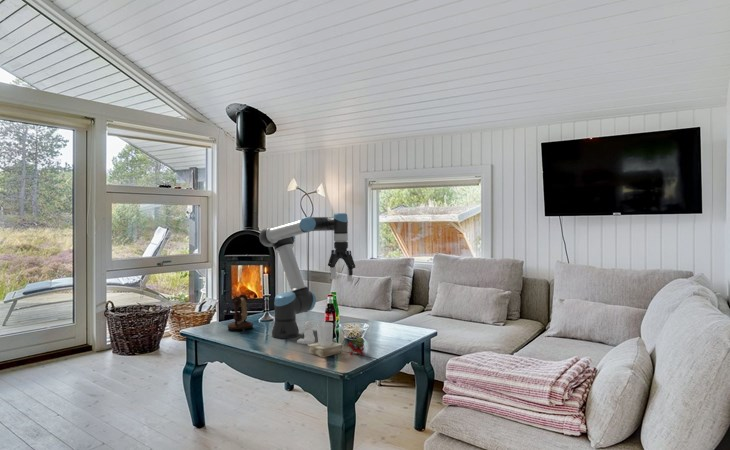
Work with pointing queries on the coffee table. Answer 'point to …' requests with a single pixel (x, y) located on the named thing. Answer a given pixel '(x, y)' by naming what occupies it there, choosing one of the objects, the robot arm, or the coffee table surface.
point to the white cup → (325, 333)
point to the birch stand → (324, 349)
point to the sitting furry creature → (307, 334)
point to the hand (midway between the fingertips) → (341, 280)
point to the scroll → (240, 314)
